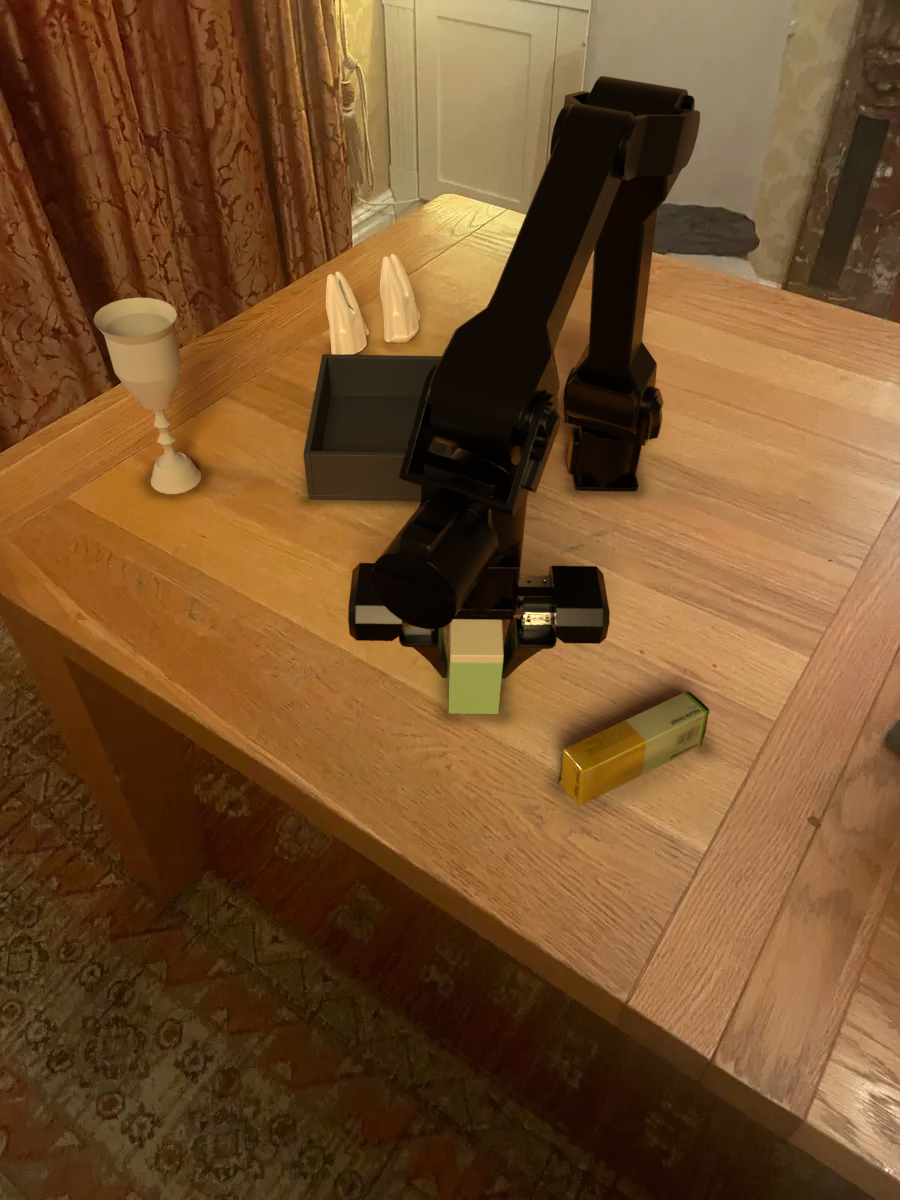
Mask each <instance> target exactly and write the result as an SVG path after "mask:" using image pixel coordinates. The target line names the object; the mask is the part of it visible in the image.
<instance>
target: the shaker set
mask: <svg viewBox="0 0 900 1200" xmlns="http://www.w3.org/2000/svg"><path fill="white" fill-rule="evenodd" d="M381 262H382V263H381V269H380V279H379V281H380V282H379V296H380V301H381V307H382V312H383V314H382V315H383V340H384V341H385V342H386V343H394V344H400V345H402V344H406V343H408V342H410V341H411V340H413V338H414V337H415V336H416V335H417V334H418V331H419V330H420V324H419V321H420V320H421V313H420V311H419V308H418V306H417V303H416V299H415V295H414V290H413V286H412V285H411V281H410V279H409V276H408V274H407V271H406V269H405V267H404V265H403V263H402V260H401V259H400V258H399V257H398V255H397V254H396V253H391V254H390V256H389V255H385V256H384V257H383V258H382V261H381ZM325 310H326V315H327V321H328V324H329V337H330V338H329V339H330V349H331V354H339V355H356V354H357V353H359V352H362V351H363V350H364V349H365V348H366V346H367V345H368V342H367V336H369V335H370V330H369V328H368V327H367V325H366V322H365V320H364V318H363V315H362V313H361V309H360V306H359V303H358V301H357V299H356V296H355V295H354V292H353V290H352V288H351V285H350V284H349V282H348V280H347V279H346V277H345V276H344V274H343V273H342V272H341V271H339V270H338V271H335V273H334V274H333V273H329V274H328V275H327V278H326V289H325Z"/></svg>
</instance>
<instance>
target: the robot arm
mask: <svg viewBox="0 0 900 1200" xmlns="http://www.w3.org/2000/svg"><path fill="white" fill-rule="evenodd" d="M695 103H696V100H695V98H694V96H693V95H689V92H688V89H685V88H679V87H673V86H667V85H661V84H656V83H655V84H654V83H648V82H643V81H637V80H630V79H624V78H618V77H612V76H606V75H602V76H601V75H600V76H599V77H598V78H597V79H596V81H595V82H594V84H593V85H592V88H591V90H590V91H585V90H581V91H577V92H572V93H569V94H565V96H564V102H563V107H562V108H561V109H560V111H559V113H558V115H557V117H556V120H555V123H554V126H553V130H552V134H551V139H550V148H549V149H550V151H549V155H550V157H549V159H548V161H547V163H546V166H545V168H544V170H543V173H542V176H541V179H540V181H539V183H538V185H537V188H536V191H535V193H534V195H533V197H532V200H531V203H530V205H529V208H528V210H527V211H526V215H525V217H524V219H523V222H522V224H521V226H520V229H519V231H518V233H517V236H516V239H515V240H514V244H513V246H512V248H511V250H510V253H509V256H508V258H507V260H506V262H505V265H504V268H503V270H502V272H501V275H500V277H499V279H498V282H497V285H496V287H495V289H494V291H493V293H492V295H491V297H490V299H489V302H488V304H487V306H486V307H484V308H483V309H482V310H481V311H479V312H478V313H476V314H475V315H474V316H472V317H470V319H468V320H466V321H465V322H464V323H462V324H461V325H460V326H458V327H457V328H456V329H455V330H454V332H453V334H452V336H451V338H450V340H449V342H448V343H447V345H446V348H445V349H444V351H443V353H442V355H441V356H442V357H441V359H440V361H439V363H437V364H436V365H435V366H433V368H432V369H431V370H430V372H429V374H428V376H427V378H426V380H425V383H424V386H423V389H422V393H421V397H420V400H419V404H418V408H417V411H416V415H415V419H414V422H413V426H412V429H411V433H410V437H409V440H408V444H407V448H406V451H405V455H404V459H403V462H402V466H401V470H400V473H399V479H400V480H403V481H406V482H409V483H412V484H415V485H418V486H421V501H419V502H420V503H419V505H418V507H417V509H416V510H415V511H414V512H413V514H412V515H411V516H410V517H409V519H408V520H407V521H406V523H405V524H403V526H402V528H401V529H400V530H399V532H397V534H396V535H395V536H394V538H393V539H391V542H390V543H389V544H388V545H387V547H385V549H384V550H383V552H382V553H381V554H380V555H379V556H378V558H377V559H376V560H375V562H359V563H358V564H357V565H356V566H355V567H354V568H353V569H352V570H351V571H352V572H351V580H350V582H351V583H350V591H349V597H348V606H347V607H348V611H347V612H348V613H347V615H348V616H347V621H348V622H347V623H348V633H349V636H350V637H351V638H353V640H355V641H359V642H362V641H363V642H365V641H366V642H393V641H394V640H396V639H397V638H398V642H399V644H400V646H402V647H404V648H412V649H414V650H415V651H416V652H418V653H419V654H420V655H421V656H422V657H423V658H425V659H426V660H427V661H428V662H429V663H430V665H431V666H432V667H433V669H435V670H436V672H437V673H438V674H439V676H440V677H441V678H443V679H447V678H448V674H449V653H448V649H447V647H448V646H447V641H446V635H445V627H447V626H448V625H450V623H451V622H452V620H453V619H473V620H502V621H508V625H507V629H506V633H505V636H504V637H505V638H504V640H503V651H504V659H503V670H502V680H503V679H504V680H505V679H507V678H508V677H509V676H511V674H513V672H515V670H517V669H518V668H519V667H520V666H521V665H522V664H523V663H524V662H526V661H527V660H528V659H530V658H531V657H533V656H535V655H536V654H538V653H540V652H541V651H542V650H550V649H553V648H555V647H556V645H557V641H558V640H559V641H561V642H562V643H563V644H586V645H587V644H590V645H591V644H595V645H597V644H600V645H601V643H602V642H604V641H605V640H606V639H607V636H608V631H609V627H610V618H611V617H610V615H611V614H610V613H611V612H610V611H611V610H610V606H609V600H608V593H607V589H606V588H607V587H606V581H605V576H604V573H603V572H602V571H601V569H600V568H599V567H598V566H597V565H549V567H548V574H544V575H543V574H542V575H540V574H526V575H523V576H521V575H520V574H521V566H522V565H521V564H522V555H523V554H522V553H523V547H524V546H523V545H524V536H525V525H526V516H527V508H528V507H527V506H528V495H529V492H532V493H536V494H537V491H538V488H539V486H540V483H541V480H542V477H543V474H544V472H545V468H546V466H547V463H548V460H549V457H550V454H551V452H552V449H553V446H554V443H555V440H556V438H557V435H558V433H559V429H560V425H561V416H560V414H559V412H558V411H559V397H558V395H559V392H560V388H561V384H560V377H559V373H558V366H557V361H556V356H555V349H556V346H557V343H558V341H559V338H560V335H561V333H562V329H563V327H564V324H565V322H566V319H567V317H568V315H569V312H570V310H571V307H572V304H573V303H574V299H575V297H576V295H577V293H578V290H579V287H580V285H581V282H582V280H583V277H584V275H585V272H586V270H587V267H588V265H589V263H590V260H591V258H593V260H592V278H591V295H590V296H591V297H590V312H589V313H590V317H589V334H588V335H589V336H588V343H587V344H586V346H585V348H584V350H583V351H582V353H581V355H580V357H579V359H578V361H577V363H576V365H575V366H573V367H572V369H571V370H570V372H569V373H568V376H567V379H566V382H565V385H564V390H563V397H562V398H563V399H562V400H563V423H564V424H567V425H573V427H572V428H571V429H570V432H569V433H570V435H569V440H568V448H567V456H566V461H567V469H568V474H569V475H570V476H572V483H573V488H574V490H576V491H579V492H637V491H638V489H639V483H638V478H637V470H638V466H639V461H640V455H641V452H642V446H643V447H645V446H646V445H647V444H648V441H650V440H653V439H658V437H659V436H660V432H661V429H662V424H663V407H664V399H663V397H662V396H663V395H662V393H661V389H660V388H658V387H656V384H657V372H658V371H657V369H658V363H657V361H656V360H655V358H654V357H653V355H652V354H651V352H650V351H649V350H648V348H647V347H646V344H644V342H643V335H644V328H645V327H644V326H645V318H646V309H647V303H648V302H647V301H648V294H649V293H648V292H649V284H650V276H651V275H650V274H651V266H652V260H653V259H652V258H653V252H654V251H653V250H654V242H655V234H656V233H655V232H656V224H657V216H658V209H659V208H660V207H661V206H662V204H664V202H665V201H666V200H667V198H668V196H669V194H670V192H671V190H672V188H673V187H674V185H675V184H676V181H677V179H678V177H679V175H680V173H681V172H682V170H683V169H684V168H686V167H687V165H688V164H689V162H690V160H691V158H692V156H693V152H694V149H695V146H696V143H697V138H698V135H699V130H700V123H701V112H700V111H699V110H697V109H695V106H696V104H695ZM592 254H593V256H592ZM574 426H575V427H574ZM433 438H434V439H435V440H436V441H437V442H440V443H443V444H447V445H450V446H451V447H454V448H456V450H455V451H454V452H453V453H452V454H451V457H450V458H448V457H445V456H442V455H439V454H435V453H432V452H428V450H429V448H430V446H431V443H432V441H433ZM520 576H521V577H520ZM557 639H558V640H557Z"/></svg>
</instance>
